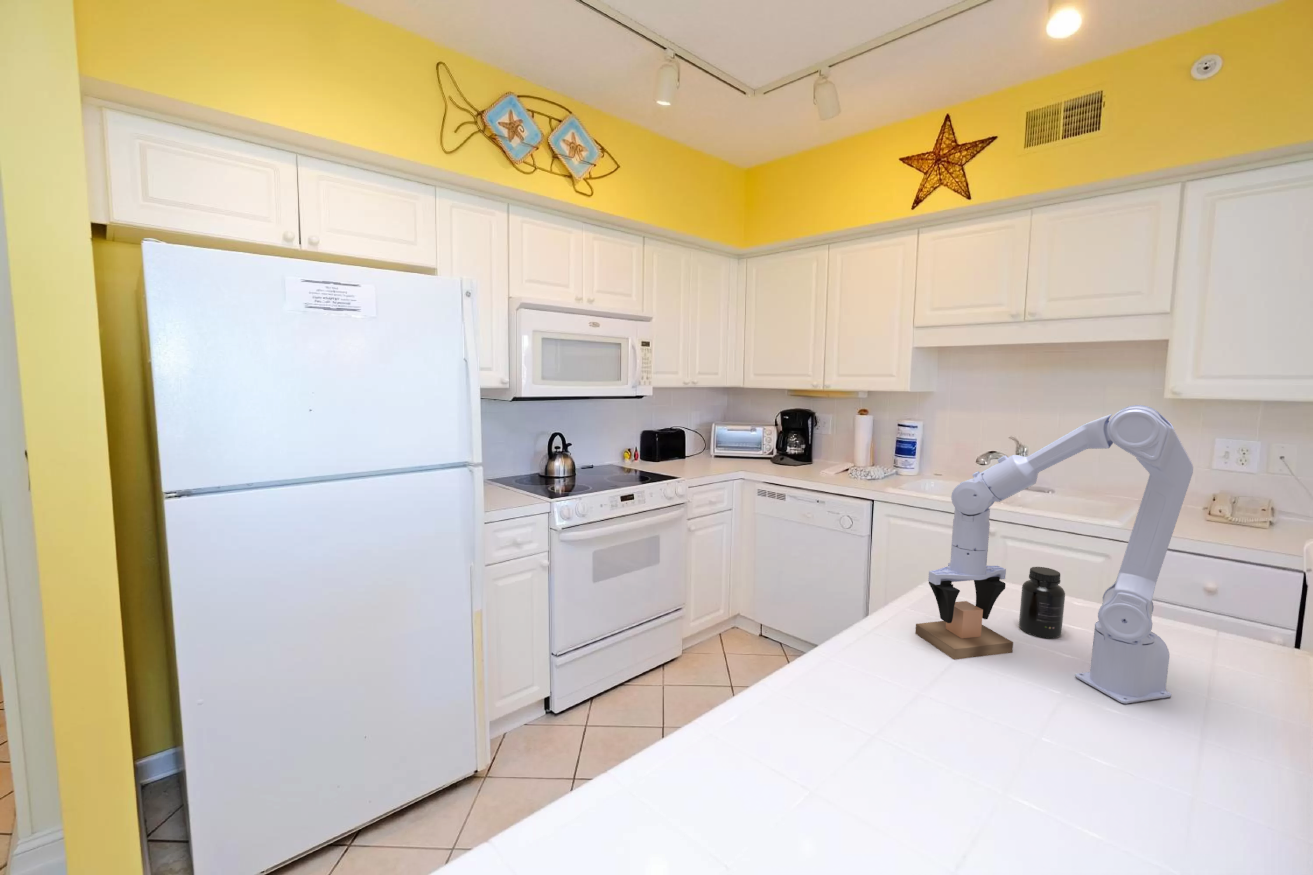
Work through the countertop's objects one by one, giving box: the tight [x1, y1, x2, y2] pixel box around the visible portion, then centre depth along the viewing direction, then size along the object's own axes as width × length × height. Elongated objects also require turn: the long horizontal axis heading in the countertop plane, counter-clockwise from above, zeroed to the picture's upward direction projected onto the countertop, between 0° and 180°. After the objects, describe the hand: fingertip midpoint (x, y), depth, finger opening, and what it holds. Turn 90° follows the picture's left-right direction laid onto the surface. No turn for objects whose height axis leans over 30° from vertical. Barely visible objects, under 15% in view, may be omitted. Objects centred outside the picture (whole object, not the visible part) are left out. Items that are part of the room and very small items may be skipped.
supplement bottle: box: [1018, 566, 1066, 639], centre depth 109 cm, size 7×7×12 cm
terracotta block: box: [946, 600, 983, 638], centre depth 104 cm, size 4×4×5 cm
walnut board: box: [915, 620, 1014, 661], centre depth 105 cm, size 12×10×2 cm
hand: (964, 618), depth 104 cm, fingers open, 7 cm apart
